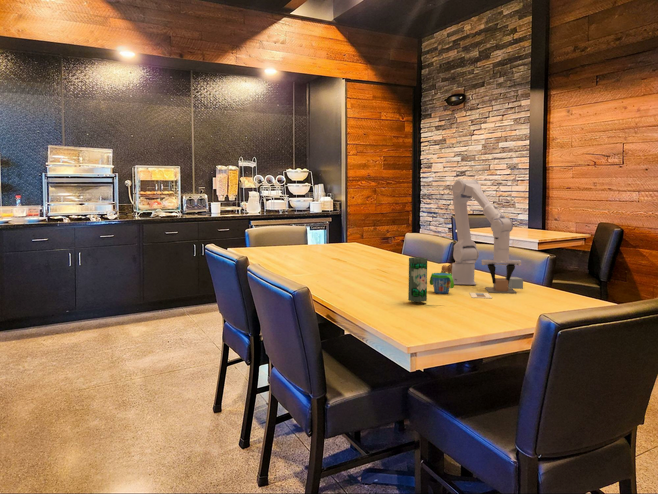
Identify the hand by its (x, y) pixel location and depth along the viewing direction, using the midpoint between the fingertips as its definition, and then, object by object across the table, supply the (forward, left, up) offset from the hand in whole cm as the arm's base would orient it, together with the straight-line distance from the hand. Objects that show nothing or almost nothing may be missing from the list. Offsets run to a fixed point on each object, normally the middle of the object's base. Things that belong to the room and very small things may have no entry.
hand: (500, 283), depth 194 cm
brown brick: (0, 0, -2) cm, 2 cm away
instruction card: (-9, -12, -3) cm, 15 cm away
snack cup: (-23, -8, -3) cm, 25 cm away
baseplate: (0, 0, -3) cm, 3 cm away
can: (-32, -25, -3) cm, 41 cm away
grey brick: (+7, +11, -3) cm, 13 cm away
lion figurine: (-18, +38, -3) cm, 42 cm away
